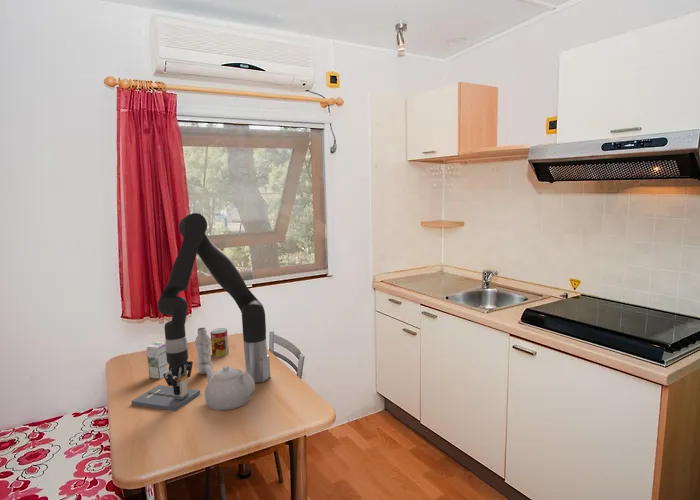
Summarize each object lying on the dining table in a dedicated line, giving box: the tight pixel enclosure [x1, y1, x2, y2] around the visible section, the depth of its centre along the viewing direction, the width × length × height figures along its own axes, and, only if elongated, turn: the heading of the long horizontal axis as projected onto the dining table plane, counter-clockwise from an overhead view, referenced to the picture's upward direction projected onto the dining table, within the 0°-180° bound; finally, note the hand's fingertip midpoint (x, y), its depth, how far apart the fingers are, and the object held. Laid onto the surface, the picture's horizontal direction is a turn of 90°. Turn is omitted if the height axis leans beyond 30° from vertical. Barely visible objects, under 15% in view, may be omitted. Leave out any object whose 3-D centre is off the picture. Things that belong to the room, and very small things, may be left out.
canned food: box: [209, 327, 230, 358], centre depth 208 cm, size 8×8×12 cm
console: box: [130, 384, 201, 412], centre depth 163 cm, size 20×14×2 cm
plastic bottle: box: [194, 327, 214, 375], centre depth 186 cm, size 6×7×20 cm
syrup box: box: [145, 341, 169, 380], centre depth 184 cm, size 6×6×14 cm
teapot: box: [203, 365, 256, 411], centre depth 159 cm, size 19×18×14 cm
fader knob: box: [172, 375, 189, 400], centre depth 160 cm, size 4×4×8 cm
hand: (180, 392), depth 161 cm, fingers closed on fader knob, 3 cm apart
